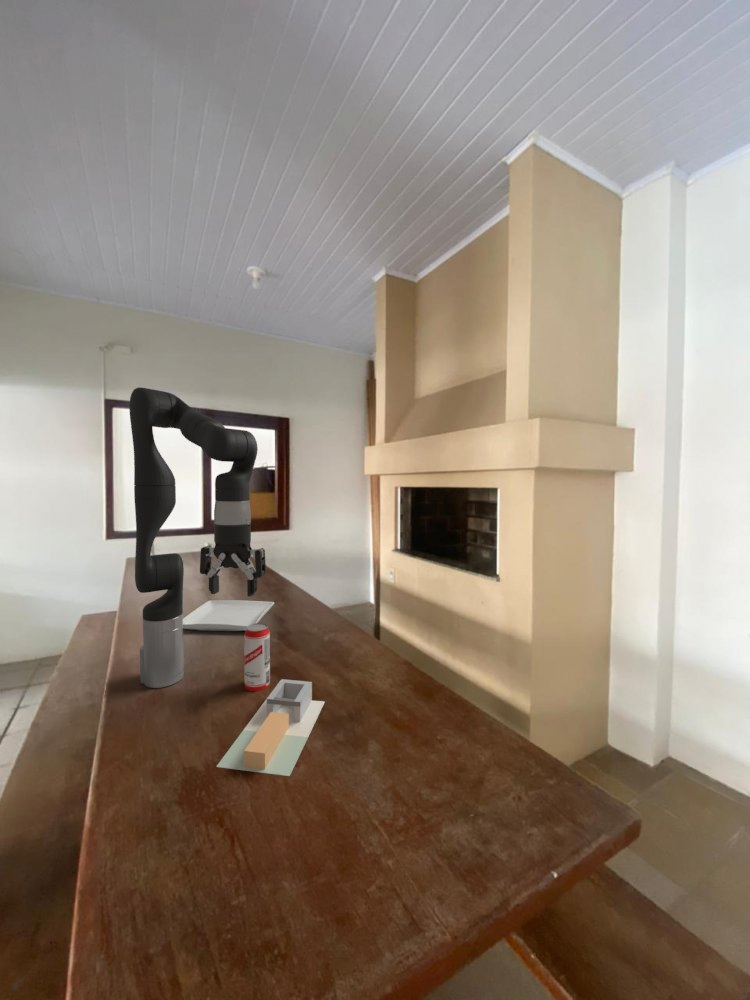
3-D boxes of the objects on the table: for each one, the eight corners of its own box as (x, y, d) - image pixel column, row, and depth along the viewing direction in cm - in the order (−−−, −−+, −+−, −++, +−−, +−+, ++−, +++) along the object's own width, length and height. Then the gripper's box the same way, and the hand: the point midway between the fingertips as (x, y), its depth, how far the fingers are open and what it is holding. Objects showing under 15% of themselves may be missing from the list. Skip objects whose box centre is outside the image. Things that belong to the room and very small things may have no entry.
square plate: (254, 636, 133) (254, 625, 133) (174, 634, 133) (174, 623, 133) (275, 609, 160) (275, 600, 160) (208, 608, 161) (208, 598, 160)
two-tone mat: (216, 771, 72) (215, 743, 71) (268, 700, 95) (268, 677, 94) (289, 781, 70) (289, 751, 69) (324, 705, 93) (325, 683, 92)
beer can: (262, 696, 96) (262, 632, 95) (239, 693, 98) (239, 630, 97) (274, 683, 102) (274, 623, 101) (252, 680, 104) (252, 621, 103)
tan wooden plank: (244, 766, 72) (244, 750, 72) (270, 725, 84) (270, 711, 83) (265, 769, 71) (264, 753, 71) (288, 727, 83) (288, 713, 83)
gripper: (192, 522, 83) (193, 597, 84) (256, 524, 81) (256, 601, 82) (211, 518, 90) (212, 587, 91) (270, 520, 88) (270, 591, 89)
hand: (233, 594), depth 86 cm, fingers open, 8 cm apart
